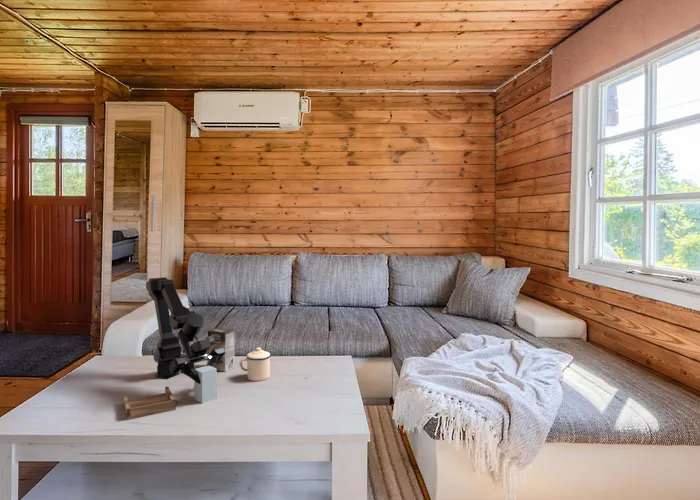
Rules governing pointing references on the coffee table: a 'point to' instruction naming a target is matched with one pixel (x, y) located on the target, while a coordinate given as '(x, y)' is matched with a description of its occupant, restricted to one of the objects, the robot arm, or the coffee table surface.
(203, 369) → the tall block
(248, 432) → the coffee table surface
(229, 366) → the coffee box
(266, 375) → the teacup with lid
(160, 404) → the tray
